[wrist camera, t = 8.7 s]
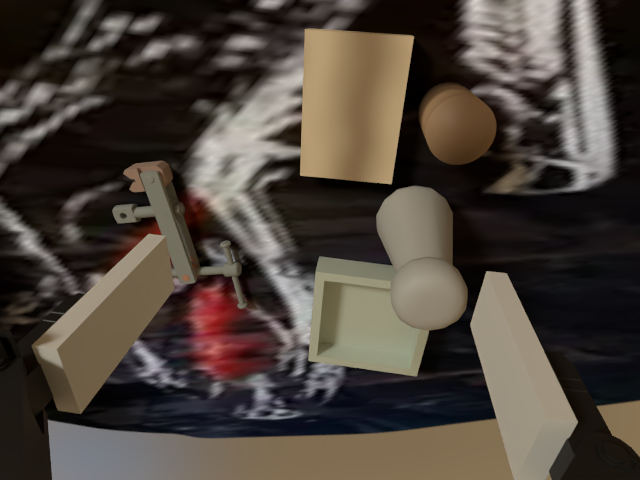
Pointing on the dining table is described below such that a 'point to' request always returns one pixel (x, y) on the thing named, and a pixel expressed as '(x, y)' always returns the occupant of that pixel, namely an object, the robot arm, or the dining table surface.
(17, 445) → the robot arm
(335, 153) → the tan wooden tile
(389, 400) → the dining table surface
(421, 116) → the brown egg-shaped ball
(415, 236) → the salt shaker
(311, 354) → the tray
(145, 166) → the clamp
